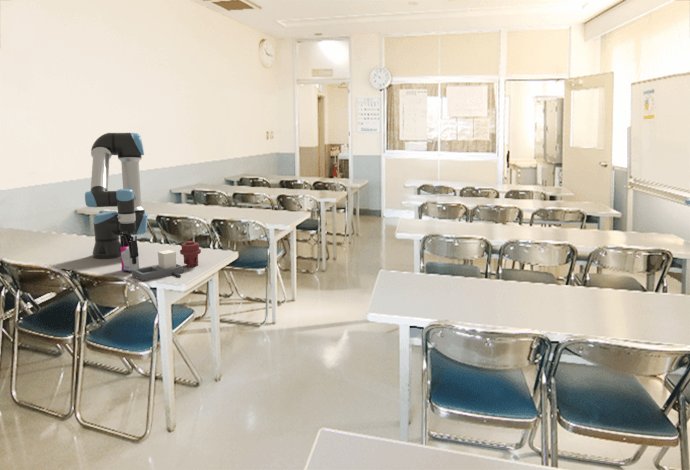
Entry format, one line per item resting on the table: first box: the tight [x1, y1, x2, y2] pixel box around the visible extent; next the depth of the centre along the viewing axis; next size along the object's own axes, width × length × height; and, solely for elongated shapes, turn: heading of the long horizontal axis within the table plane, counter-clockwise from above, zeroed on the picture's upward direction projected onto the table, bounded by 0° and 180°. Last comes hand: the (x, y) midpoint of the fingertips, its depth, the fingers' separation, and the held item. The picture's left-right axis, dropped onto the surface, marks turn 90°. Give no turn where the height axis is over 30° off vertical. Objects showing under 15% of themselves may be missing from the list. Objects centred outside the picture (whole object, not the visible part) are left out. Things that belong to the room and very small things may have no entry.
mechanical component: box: [179, 240, 202, 268], centre depth 264 cm, size 12×10×10 cm
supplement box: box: [120, 245, 140, 273], centre depth 254 cm, size 6×6×12 cm
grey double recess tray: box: [131, 249, 184, 282], centre depth 247 cm, size 18×20×10 cm
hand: (130, 268), depth 255 cm, fingers closed on supplement box, 7 cm apart
